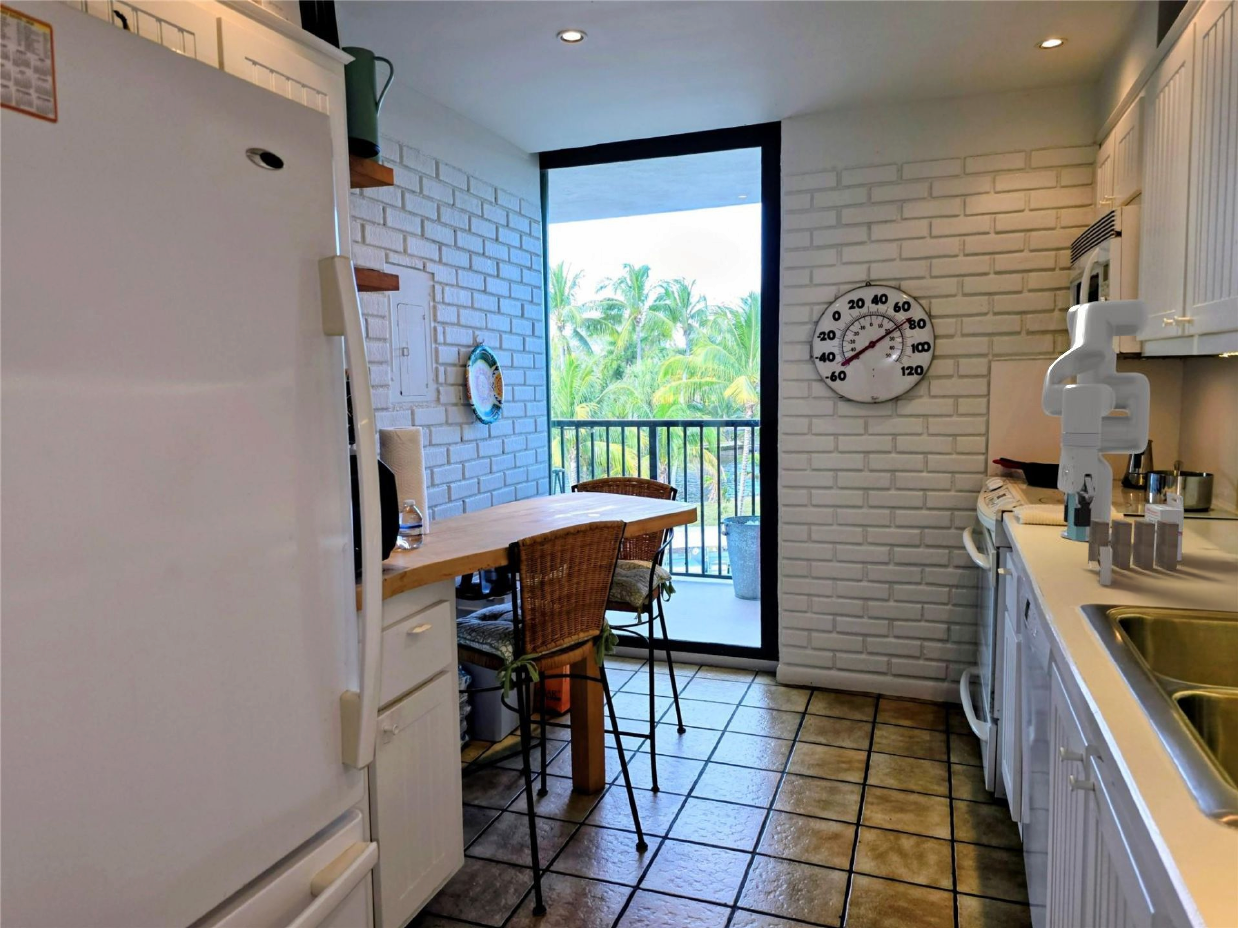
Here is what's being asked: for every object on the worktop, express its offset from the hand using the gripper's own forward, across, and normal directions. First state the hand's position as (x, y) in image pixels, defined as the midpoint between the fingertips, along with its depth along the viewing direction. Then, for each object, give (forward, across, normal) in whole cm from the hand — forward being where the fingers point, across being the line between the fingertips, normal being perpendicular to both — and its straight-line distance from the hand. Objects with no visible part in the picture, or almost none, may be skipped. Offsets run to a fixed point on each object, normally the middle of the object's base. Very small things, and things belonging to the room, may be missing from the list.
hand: (1076, 523), depth 175 cm
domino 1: (+3, 0, 0) cm, 3 cm away
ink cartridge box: (+9, -12, +23) cm, 27 cm away
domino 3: (+9, 0, +9) cm, 13 cm away
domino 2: (+9, 0, +5) cm, 10 cm away
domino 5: (+9, 0, +18) cm, 20 cm away
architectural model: (+10, +15, 0) cm, 18 cm away
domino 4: (+9, 0, +14) cm, 16 cm away
